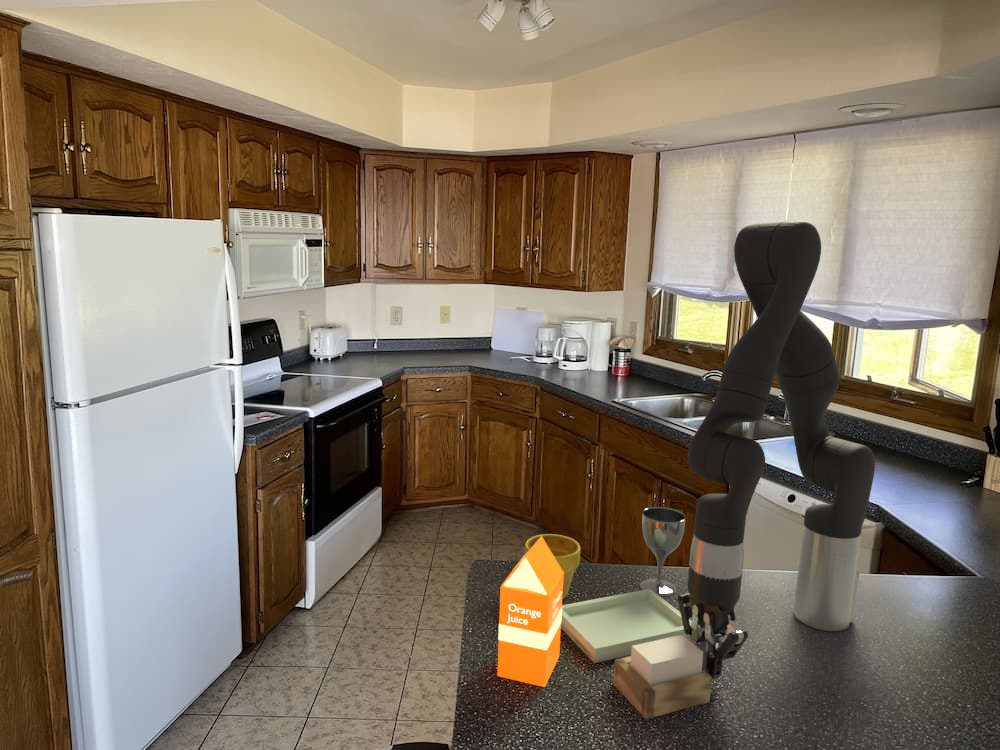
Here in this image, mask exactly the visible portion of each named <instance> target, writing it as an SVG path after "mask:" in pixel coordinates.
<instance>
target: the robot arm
mask: <svg viewBox="0 0 1000 750" xmlns="http://www.w3.org/2000/svg"><path fill="white" fill-rule="evenodd" d="M733 248H734V249H733V253H734V254H733V255H734V262H735V267H736V271H737V273H738V277H739V280H740V282H741V284H742V286H743V288H744V290H745V293H746V296H747V297H748V299H749V301H750V305H751V306H752V309H753V311H754V312H755V315H756V318H757V319H756V320H755V321H754V322H753V323H752V325H750V327H749V328H748V329H747V330H746V331H745V332H744V334H743V335H742V336H740V338H739V340H737V342H736V343H735V345H734V346H733V347H732V349H731V350H730V351H729V354H728V356H727V357H726V360H725V362H724V366H723V369H722V374H721V377H720V380H719V383H718V384H719V385H718V389H717V391H716V396H715V398H714V401H713V403H712V404H711V406H710V408H709V410H708V412H707V414H706V415H705V418H704V419H703V421H702V423H701V424H700V426H699V428H697V430H696V432H695V434H694V435H693V437H692V439H691V441H690V442H689V446H688V450H687V461H688V466H689V468H690V470H691V471H692V473H693V474H694V475H696V476H698V477H700V478H703V479H707V480H711V481H714V482H719V483H722V484H726V485H729V490H728V493H706V494H704V495H701V496H700V497H699V498H698V500H697V501H696V506H695V507H696V508H695V516H694V517H695V518H694V528H693V535H692V536H693V537H692V541H691V545H690V546H691V547H690V553H689V562H688V563H689V564H688V577H687V586H686V588H687V590H686V591H687V592H686V593H682V594H678V595H677V603H678V607H679V612H680V613H681V618H682V622H683V627H684V632H685V634H686V635H690V636H691V641H690V642H691V643H693V644H694V643H698V642H703V641H707V642H708V655H707V663H706V670H705V672H704V673H706V672H707V673H708V674H709V675H710V676H711V677H712V680H714V679H715V680H716V679H719V677H721V675H722V672H723V661H724V660H729V659H733V658H735V656H737V653H738V652H739V651H740V649H741V648H742V647H743V645H744V643H745V642H746V641H747V639H748V638H749V632H748V631H747V630H746V629H740V628H739V627H738V625H737V623H736V614H735V606H736V605H737V603H738V601H739V600H740V597H741V586H742V577H743V567H744V560H745V557H744V556H745V554H744V553H745V549H744V548H745V547H744V539H745V532H746V531H745V530H746V529H745V528H746V519H747V514H748V512H749V507H750V504H751V501H752V499H753V497H754V494H755V491H756V489H757V486H758V484H759V482H760V480H761V477H762V475H763V473H764V470H765V466H766V455H765V451H764V449H763V447H762V445H761V444H760V442H758V441H756V440H755V439H752V438H748V437H743V436H739V435H734V434H729V433H728V432H729V430H730V429H731V428H732V427H733V426H734V425H736V424H739V423H755V422H759V421H760V420H761V419H763V417H764V414H765V411H766V408H767V404H768V400H769V397H770V394H771V390H772V387H773V386H772V385H773V381H774V377H776V379H777V382H778V387H779V389H780V392H781V394H782V397H783V400H784V402H785V406H786V411H787V415H788V417H789V422H790V426H791V431H792V436H793V440H794V446H795V453H796V456H797V463H798V466H799V470H800V473H801V476H802V477H803V478H804V480H805V481H806V482H808V483H809V484H810V485H813V486H815V487H817V488H821V489H823V490H826V491H829V492H832V493H834V494H835V495H834V499H833V503H826V504H825V503H821V504H814V505H811V506H809V507H807V508H806V509H805V512H804V515H803V516H804V517H803V527H802V528H803V529H802V536H801V545H800V553H799V563H798V568H797V569H798V571H797V580H796V588H795V589H796V590H795V595H794V605H793V615H794V617H795V618H796V619H797V620H798V621H799V622H801V623H802V624H805V625H806V626H809V627H811V628H813V629H818V630H821V631H827V632H840V631H844V630H846V629H848V628H849V626H850V624H851V623H853V622H854V617H855V610H856V608H855V607H856V602H857V594H858V587H859V579H860V572H859V571H858V570H857V568H858V560H859V552H860V544H861V536H862V528H863V526H864V522H865V519H866V517H867V514H868V507H869V502H870V498H871V492H872V487H873V482H874V477H875V469H876V461H875V455H874V452H873V450H872V449H871V448H870V447H868V446H867V445H864V444H861V443H857V442H853V441H850V440H845V439H841V438H837V437H834V436H833V435H831V433H830V432H829V430H828V428H827V424H826V420H825V419H826V418H825V413H826V410H828V407H829V406H830V404H831V402H832V401H833V399H834V397H835V395H836V393H837V391H838V390H839V389H838V388H839V386H840V371H839V368H838V364H837V360H836V357H835V352H834V349H833V346H832V344H831V342H830V340H829V338H828V337H827V336H826V335H825V333H824V332H823V331H822V330H821V329H820V328H819V327H818V326H817V325H816V323H814V321H812V319H810V318H809V317H808V316H807V315H806V314H805V313H804V312H803V311H802V310H801V309H802V306H803V305H804V302H805V300H806V298H807V295H808V293H809V291H810V288H811V287H812V284H813V281H814V280H815V276H816V274H817V270H818V267H819V264H820V261H821V255H822V241H821V236H820V233H819V231H818V230H817V228H816V227H815V225H814V224H813V223H811V222H809V221H805V220H788V221H787V220H786V221H775V222H762V223H761V222H760V223H754V224H749V225H746V226H744V227H743V228H742V229H741V230H739V232H738V233H737V235H736V238H735V242H734V247H733ZM690 618H691V626H690V622H689V619H690ZM716 643H718V648H716Z"/></svg>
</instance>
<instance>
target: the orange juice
mask: <svg viewBox="0 0 1000 750" xmlns="http://www.w3.org/2000/svg"><path fill="white" fill-rule="evenodd" d="M563 576H564V572H563V571H562V569H561V568H560V566H559V564H558V562H557V561H556V559H555V557H554V556H553V554H552V552H551V551H550V549H549V547H548V546H547V544H546V542H545V541H544V539H543V537H542V536H541V537H540V538H539V539H538V541H537V542H536V543H535V544H534V545H533V546H532V548H531V549H530V550H529V551H528V552H527V553H526V555H525V554H524V555H523V557H521V559H520V560H519V562H518V563H516V565H515V566H514V568H513V569H512V571H510V573H509V574H508V576H507V577H506V578H505V580H504V581H503V582H502V583H501V586H500V587H499V588H500V589H499V591H500V594H499V620H498V622H499V623H498V638H497V639H498V647H497V673H496V676H497V677H500V678H505V679H508V680H513V681H517V682H521V683H526V684H530V685H534V686H539V687H543V688H545V687H546V685H547V684H548V681H549V679H550V677H551V675H552V673H553V670H554V668H555V667H556V665H557V662H558V660H559V657H560V653H561V652H560V648H561V647H560V646H561V630H562V628H561V620H562V605H563V599H562V595H563Z"/></svg>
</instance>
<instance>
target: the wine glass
mask: <svg viewBox="0 0 1000 750" xmlns="http://www.w3.org/2000/svg"><path fill="white" fill-rule="evenodd" d="M641 520H642V521H641V523H642V524H641V525H642V534H643V539H644V542H645V543H646V545H647V547H648V548H649V549H650V550H651V552H652V553H653V555H654V556H655V559H656V563H657V564H656V565H657V566H656V567H657V568H656V571H657V575H656V576H657V577H656V578H648V579H643V580H642V581H641V582H640V583H639V587H640V589H641V590H646V589H651V590H652V591H653V592H655V593H656V594H657V595H659V596H660V597H671V596H674V595H675V594H677V592H678V588H677V586H676V585H675V584H673V583H672V582H671V581H667V580H664V579H662V571H663V567H664V562H665V560H666V559H667V557H668V556H669V555H670V554H672V552H674V551H676V549H677V548H679V546H680V544H681V542H682V538H683V535H684V533H685V527H686V526H685V525H686V515H685V513H683V511H681V510H678V509H675V508H671V507H665V506H664V507H663V506H651V507H648V508H645V509H644V510H643V511H642V519H641Z"/></svg>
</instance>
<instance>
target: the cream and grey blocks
mask: <svg viewBox="0 0 1000 750" xmlns="http://www.w3.org/2000/svg"><path fill="white" fill-rule="evenodd" d="M716 648H718V643H716ZM707 655H708V642H707V641H703V642H698V643H694V644H693V643H692V642H691V641H689V640H688V639H687V638H685V637H684V636H683V635H678V636H674V637H669V638H665V639H660V640H656V641H651V642H647V643H642V644H637V645H633V646H632V650H631V655H630V656H631V664H630V667H631V668H632V669H633V670H634V671H635V672H636V673H637V674H638V675H639V676H640V677H641V678H642V679H643V680H644V681H645V682H646V683H647V684H648V685H649V686H654V685H658V684H662V683H666V682H670V681H674V680H678V679H682V678H686V677H690V676H694V675H698V674H702V671H706V663H707Z"/></svg>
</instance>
